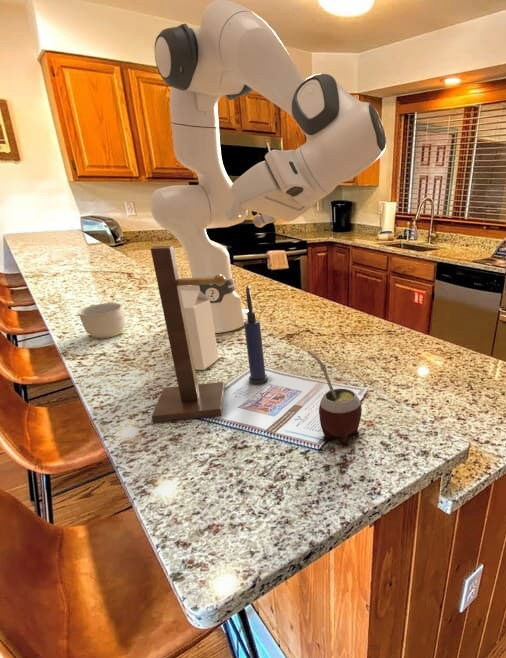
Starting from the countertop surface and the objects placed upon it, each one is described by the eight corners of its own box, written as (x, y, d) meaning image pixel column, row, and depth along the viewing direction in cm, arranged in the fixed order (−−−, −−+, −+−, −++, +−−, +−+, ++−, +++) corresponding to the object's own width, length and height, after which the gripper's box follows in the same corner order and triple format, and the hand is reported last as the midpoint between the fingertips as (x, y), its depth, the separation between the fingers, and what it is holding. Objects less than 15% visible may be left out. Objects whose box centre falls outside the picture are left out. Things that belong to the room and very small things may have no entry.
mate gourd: (366, 444, 71) (367, 361, 64) (320, 452, 69) (316, 367, 62) (354, 422, 77) (353, 344, 71) (311, 428, 75) (306, 349, 69)
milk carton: (204, 371, 98) (190, 289, 91) (176, 368, 100) (160, 288, 92) (219, 359, 105) (207, 282, 97) (193, 357, 106) (179, 281, 98)
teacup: (130, 336, 121) (124, 308, 118) (87, 344, 115) (78, 315, 112) (123, 324, 131) (117, 298, 128) (83, 330, 126) (75, 304, 122)
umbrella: (249, 375, 96) (238, 284, 87) (267, 374, 97) (257, 283, 88) (249, 387, 90) (237, 291, 82) (268, 386, 91) (258, 290, 82)
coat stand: (165, 394, 88) (132, 243, 75) (242, 386, 91) (222, 240, 79) (153, 423, 77) (112, 254, 65) (240, 413, 80) (218, 249, 68)
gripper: (316, 176, 85) (262, 213, 90) (266, 146, 66) (201, 195, 70) (330, 205, 85) (276, 241, 90) (285, 183, 66) (219, 230, 71)
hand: (243, 220), depth 80 cm, fingers open, 8 cm apart
